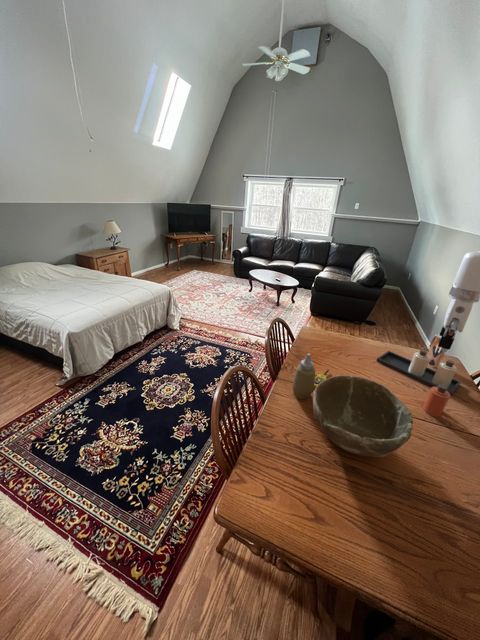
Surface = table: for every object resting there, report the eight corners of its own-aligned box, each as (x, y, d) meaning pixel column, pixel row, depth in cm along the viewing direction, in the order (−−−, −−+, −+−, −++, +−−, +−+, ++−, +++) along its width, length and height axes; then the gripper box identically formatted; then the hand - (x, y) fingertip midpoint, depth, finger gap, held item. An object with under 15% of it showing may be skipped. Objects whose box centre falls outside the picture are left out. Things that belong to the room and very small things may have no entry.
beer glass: (422, 365, 124) (434, 337, 117) (423, 359, 129) (434, 331, 123) (440, 371, 120) (453, 342, 114) (440, 364, 125) (453, 336, 119)
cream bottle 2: (450, 384, 111) (461, 362, 106) (446, 390, 107) (456, 367, 103) (434, 377, 115) (444, 355, 110) (429, 382, 111) (439, 360, 107)
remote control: (309, 382, 106) (323, 365, 117) (308, 385, 107) (323, 368, 118) (320, 387, 104) (334, 369, 114) (319, 391, 104) (333, 373, 115)
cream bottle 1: (425, 373, 117) (434, 351, 113) (420, 378, 114) (429, 356, 109) (411, 366, 121) (419, 346, 117) (405, 371, 118) (413, 350, 113)
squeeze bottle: (305, 404, 97) (313, 363, 89) (286, 394, 102) (292, 354, 94) (316, 394, 103) (324, 354, 95) (298, 384, 107) (304, 345, 100)
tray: (459, 386, 111) (461, 382, 110) (450, 397, 104) (452, 393, 103) (387, 354, 131) (388, 350, 131) (375, 362, 125) (377, 358, 124)
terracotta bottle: (443, 411, 97) (455, 387, 92) (438, 419, 94) (449, 394, 89) (425, 402, 101) (436, 379, 96) (420, 409, 98) (430, 385, 93)
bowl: (360, 501, 67) (376, 460, 61) (289, 427, 87) (295, 391, 81) (417, 452, 81) (435, 415, 74) (344, 398, 101) (353, 365, 95)
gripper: (482, 304, 74) (457, 357, 81) (478, 289, 86) (457, 336, 94) (449, 297, 78) (428, 348, 85) (450, 284, 90) (432, 329, 98)
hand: (444, 342), depth 89 cm, fingers open, 9 cm apart
